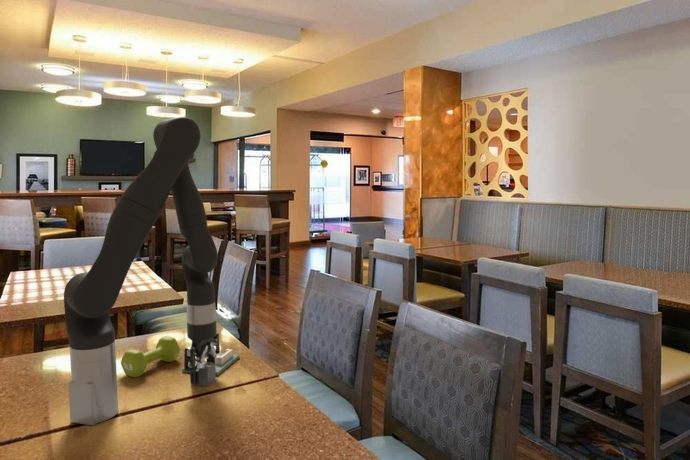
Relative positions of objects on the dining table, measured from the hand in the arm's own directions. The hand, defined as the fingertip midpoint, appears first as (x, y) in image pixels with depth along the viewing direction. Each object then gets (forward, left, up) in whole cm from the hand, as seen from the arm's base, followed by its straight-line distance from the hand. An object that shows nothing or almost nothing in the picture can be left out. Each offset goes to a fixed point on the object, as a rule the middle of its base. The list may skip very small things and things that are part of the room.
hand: (203, 377), depth 130 cm
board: (+12, +4, -1) cm, 13 cm away
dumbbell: (+6, +20, -2) cm, 21 cm away
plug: (0, 0, -2) cm, 2 cm away
